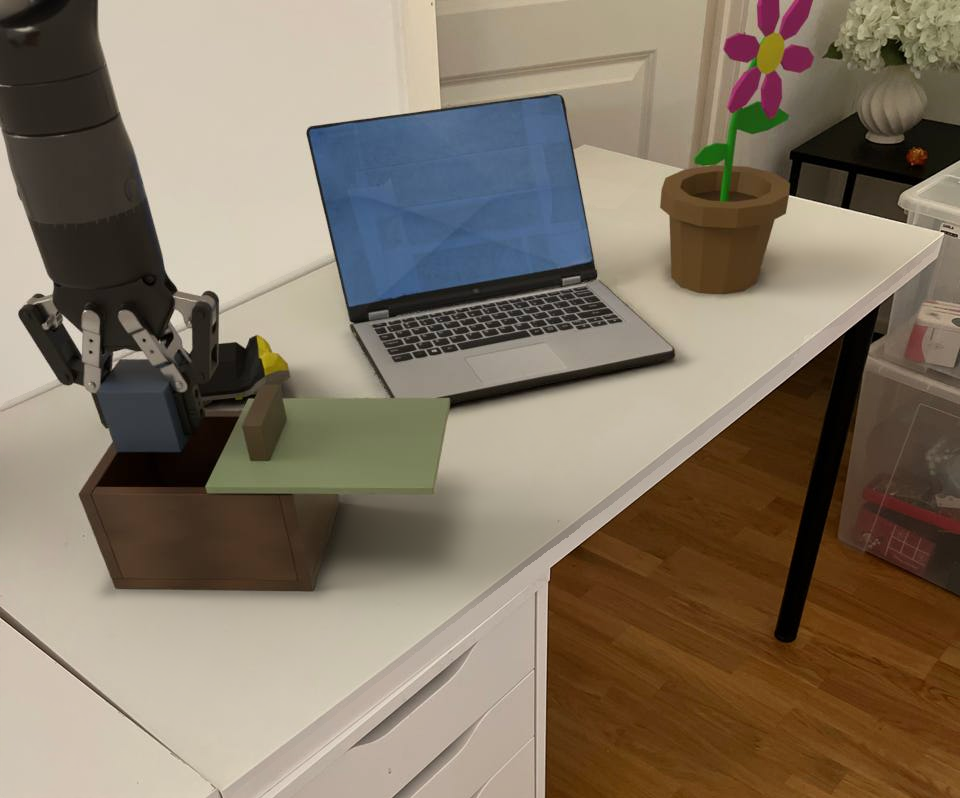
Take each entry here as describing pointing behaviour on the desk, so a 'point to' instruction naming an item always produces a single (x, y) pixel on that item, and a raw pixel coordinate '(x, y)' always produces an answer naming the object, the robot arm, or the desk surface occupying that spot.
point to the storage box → (201, 521)
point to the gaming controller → (243, 370)
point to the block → (140, 409)
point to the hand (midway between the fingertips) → (156, 429)
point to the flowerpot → (736, 169)
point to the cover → (332, 446)
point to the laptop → (471, 251)
